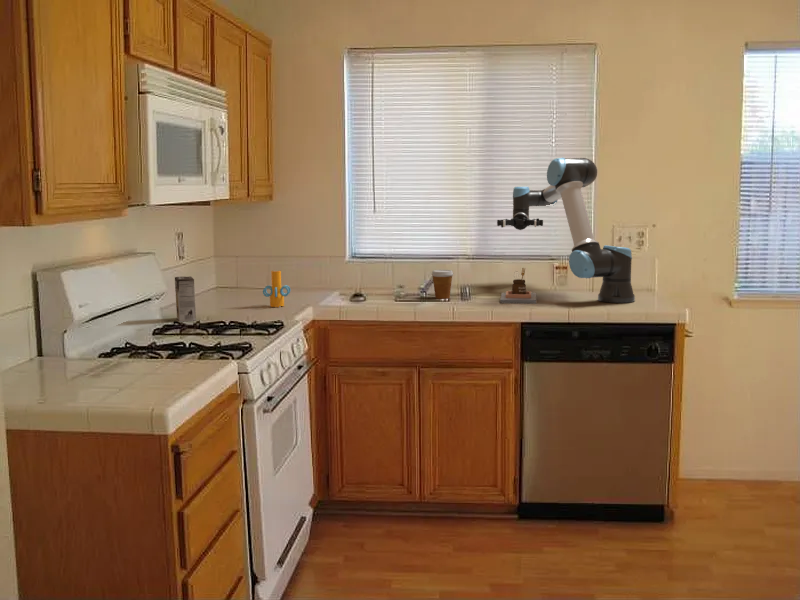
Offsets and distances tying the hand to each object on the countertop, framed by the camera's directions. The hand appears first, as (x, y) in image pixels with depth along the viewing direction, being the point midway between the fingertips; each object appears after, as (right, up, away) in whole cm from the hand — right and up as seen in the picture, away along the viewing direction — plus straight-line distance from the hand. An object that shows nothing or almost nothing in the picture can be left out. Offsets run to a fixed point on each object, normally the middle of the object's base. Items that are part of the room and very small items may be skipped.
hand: (519, 223), depth 381 cm
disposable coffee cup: (-33, -33, +3) cm, 47 cm away
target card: (-1, -33, -5) cm, 33 cm away
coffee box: (-134, -41, -46) cm, 148 cm away
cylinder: (-104, -36, -16) cm, 111 cm away
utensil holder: (-1, -32, -5) cm, 32 cm away
